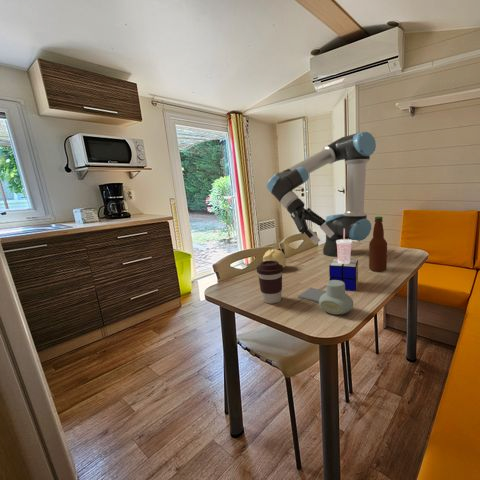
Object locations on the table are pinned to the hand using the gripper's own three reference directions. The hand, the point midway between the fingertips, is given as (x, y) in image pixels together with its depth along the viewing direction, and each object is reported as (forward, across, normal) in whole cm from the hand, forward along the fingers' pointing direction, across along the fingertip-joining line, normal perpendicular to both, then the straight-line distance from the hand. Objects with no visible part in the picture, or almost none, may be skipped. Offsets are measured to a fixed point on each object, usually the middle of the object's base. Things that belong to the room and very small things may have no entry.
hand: (325, 239), depth 111 cm
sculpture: (-7, -4, -35) cm, 36 cm away
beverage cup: (+12, 0, -1) cm, 12 cm away
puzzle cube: (+19, 0, -8) cm, 21 cm away
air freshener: (+23, +23, -4) cm, 33 cm away
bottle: (+23, -25, -4) cm, 35 cm away
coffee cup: (+7, +27, -20) cm, 35 cm away
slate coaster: (+16, +16, -11) cm, 25 cm away
